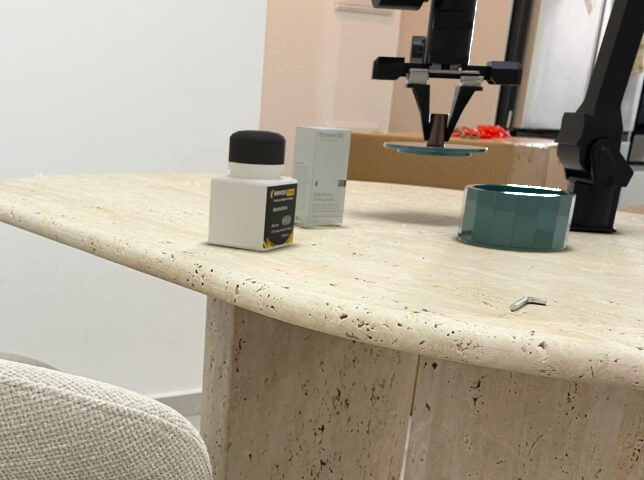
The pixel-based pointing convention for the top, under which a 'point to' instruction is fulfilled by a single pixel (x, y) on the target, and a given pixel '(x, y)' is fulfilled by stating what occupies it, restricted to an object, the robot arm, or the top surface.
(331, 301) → the top surface
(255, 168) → the medicine bottle
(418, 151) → the lid
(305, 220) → the cosmetic box
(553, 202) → the tin
